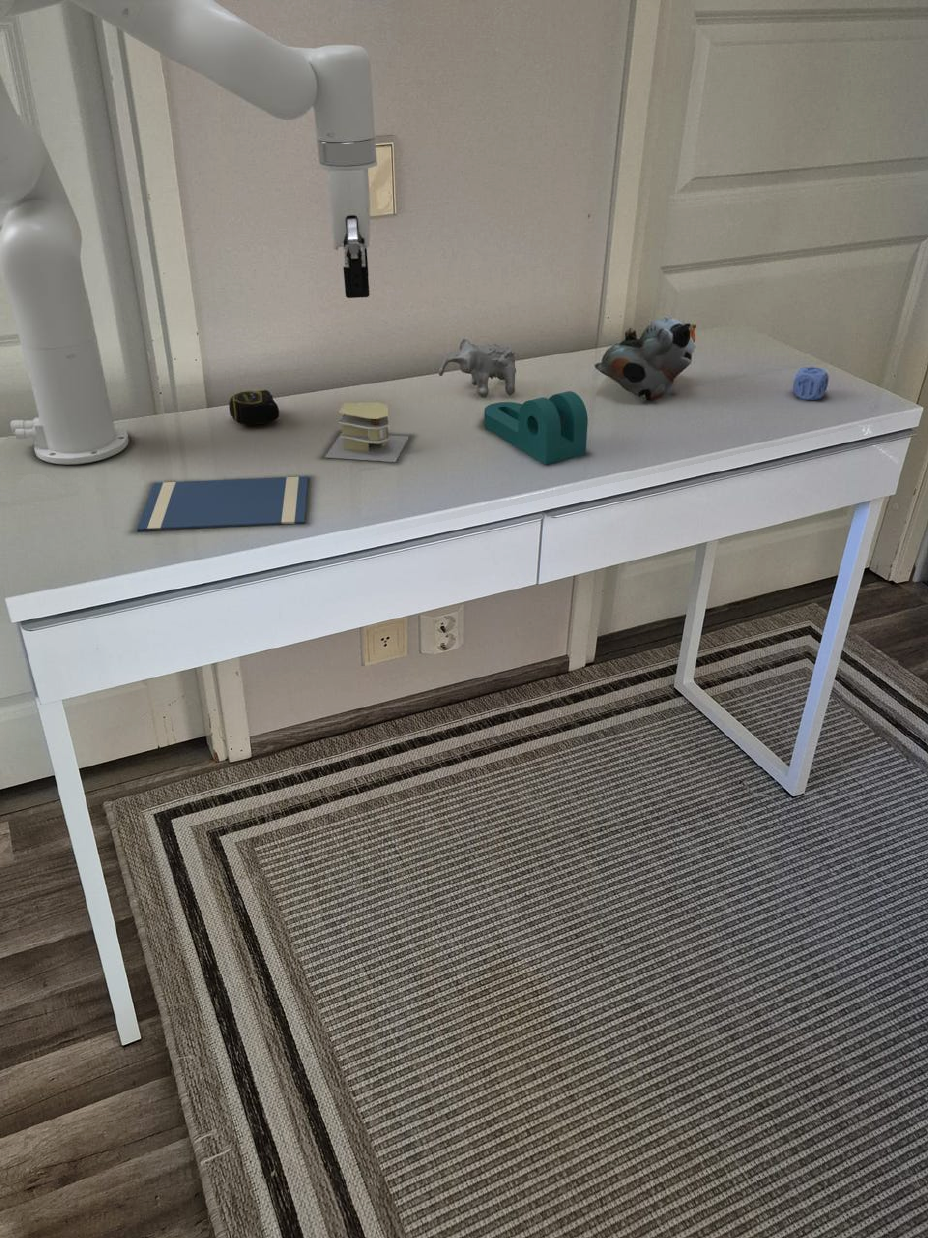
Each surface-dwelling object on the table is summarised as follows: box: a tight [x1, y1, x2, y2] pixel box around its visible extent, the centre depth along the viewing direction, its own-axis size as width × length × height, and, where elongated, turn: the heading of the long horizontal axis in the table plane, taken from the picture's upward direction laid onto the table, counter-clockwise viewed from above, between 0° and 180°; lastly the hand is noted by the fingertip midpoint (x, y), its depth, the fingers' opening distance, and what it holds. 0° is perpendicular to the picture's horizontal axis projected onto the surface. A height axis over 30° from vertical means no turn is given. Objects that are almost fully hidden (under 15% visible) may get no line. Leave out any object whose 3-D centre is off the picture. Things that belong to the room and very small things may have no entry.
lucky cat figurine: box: [594, 317, 697, 402], centre depth 160 cm, size 15×12×14 cm
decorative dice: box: [792, 366, 830, 401], centre depth 160 cm, size 4×4×4 cm
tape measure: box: [228, 389, 280, 426], centre depth 152 cm, size 7×7×4 cm
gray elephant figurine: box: [438, 338, 517, 398], centre depth 161 cm, size 9×12×8 cm
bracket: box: [483, 390, 589, 466], centre depth 145 cm, size 18×7×8 cm, turn 31°
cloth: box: [136, 475, 309, 532], centre depth 130 cm, size 20×13×1 cm, turn 95°
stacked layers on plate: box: [324, 402, 410, 463], centre depth 143 cm, size 10×9×6 cm
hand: (357, 286), depth 143 cm, fingers open, 9 cm apart
